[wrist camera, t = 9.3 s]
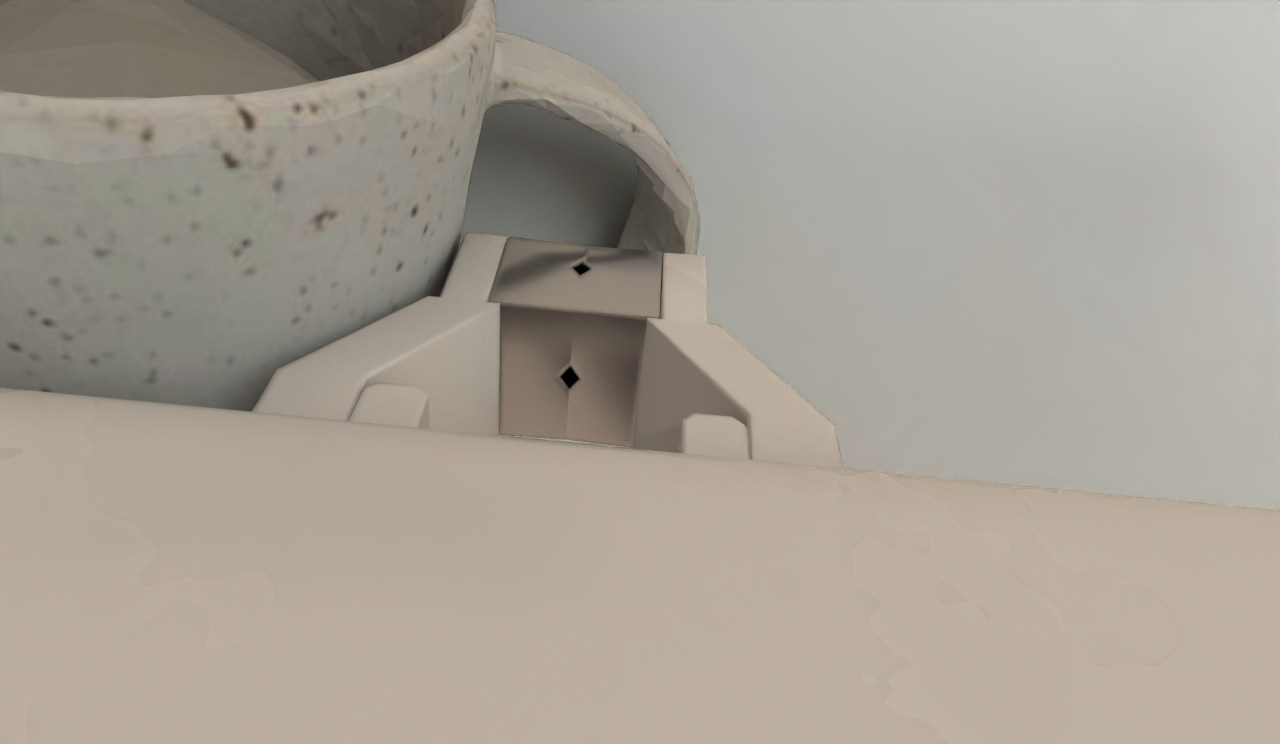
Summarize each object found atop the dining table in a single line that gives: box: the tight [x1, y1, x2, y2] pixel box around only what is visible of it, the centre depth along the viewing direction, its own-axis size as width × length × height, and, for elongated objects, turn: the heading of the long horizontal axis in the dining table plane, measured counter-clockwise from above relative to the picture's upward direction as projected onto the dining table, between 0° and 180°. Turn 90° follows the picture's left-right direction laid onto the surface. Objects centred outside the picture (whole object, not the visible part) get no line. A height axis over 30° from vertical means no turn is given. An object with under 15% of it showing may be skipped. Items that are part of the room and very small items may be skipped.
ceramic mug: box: [0, 0, 700, 412], centre depth 12 cm, size 11×8×8 cm
